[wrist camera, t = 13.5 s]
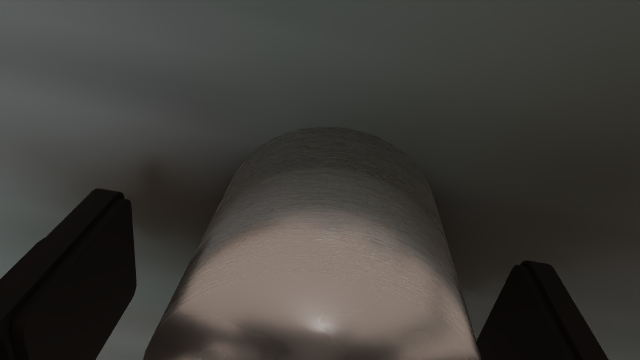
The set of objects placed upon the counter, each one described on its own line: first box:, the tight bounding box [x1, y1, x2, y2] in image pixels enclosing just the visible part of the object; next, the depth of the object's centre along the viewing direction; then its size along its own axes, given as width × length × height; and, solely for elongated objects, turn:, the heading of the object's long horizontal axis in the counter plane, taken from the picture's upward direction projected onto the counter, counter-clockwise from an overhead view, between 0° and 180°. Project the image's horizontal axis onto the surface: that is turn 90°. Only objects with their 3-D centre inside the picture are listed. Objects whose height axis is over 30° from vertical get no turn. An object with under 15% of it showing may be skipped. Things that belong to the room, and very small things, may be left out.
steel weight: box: [143, 127, 481, 360], centre depth 10 cm, size 6×6×6 cm
